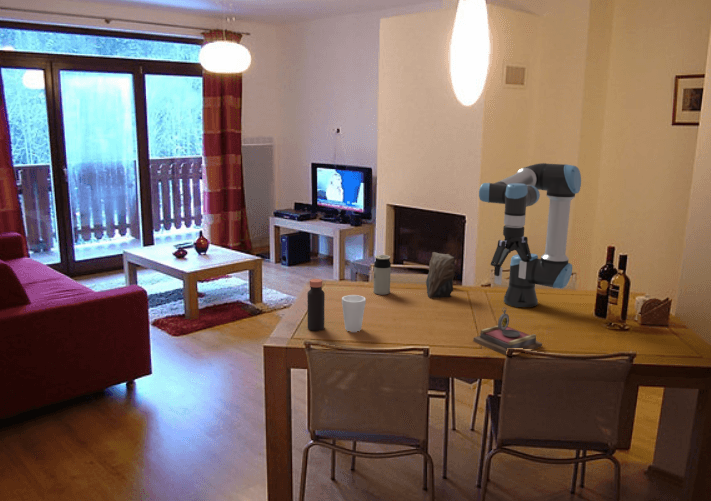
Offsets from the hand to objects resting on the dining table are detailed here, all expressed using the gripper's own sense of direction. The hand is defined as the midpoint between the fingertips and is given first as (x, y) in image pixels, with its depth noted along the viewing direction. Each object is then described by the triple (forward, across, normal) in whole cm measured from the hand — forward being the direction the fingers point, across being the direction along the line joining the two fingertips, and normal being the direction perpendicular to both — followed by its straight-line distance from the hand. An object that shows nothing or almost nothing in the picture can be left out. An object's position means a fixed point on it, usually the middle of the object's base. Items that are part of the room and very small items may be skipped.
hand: (510, 281), depth 225 cm
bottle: (+24, +55, -51) cm, 78 cm away
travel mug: (+24, +2, -75) cm, 79 cm away
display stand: (+24, +2, +3) cm, 24 cm away
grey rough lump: (+25, -17, -58) cm, 65 cm away
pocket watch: (+20, +2, +3) cm, 20 cm away
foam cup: (+24, +43, -42) cm, 64 cm away
